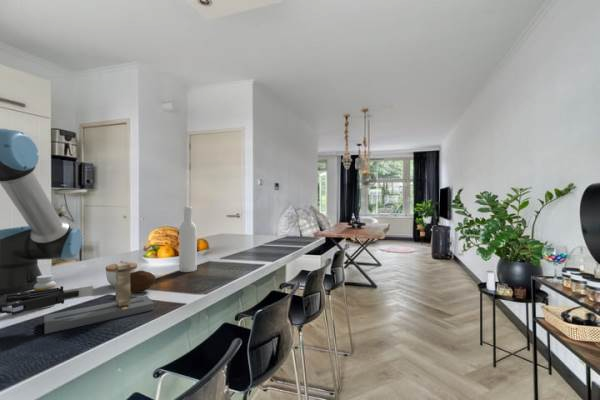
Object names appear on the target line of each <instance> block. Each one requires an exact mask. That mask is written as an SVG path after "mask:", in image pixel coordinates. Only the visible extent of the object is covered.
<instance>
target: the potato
mask: <svg viewBox="0 0 600 400" xmlns="http://www.w3.org/2000/svg"><path fill="white" fill-rule="evenodd" d="M156 279H157V278H156V276H155V275H154V274H153V273H151V272H149V271H147V270H137V271H136V272H132V273H130V293H141V292H144V291H147V290H149V289H150V288H151V287H152V286H154V284H155V283H156V281H157V280H156Z"/></svg>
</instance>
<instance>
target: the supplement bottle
mask: <svg viewBox="0 0 600 400" xmlns="http://www.w3.org/2000/svg"><path fill="white" fill-rule="evenodd" d="M37 282H38V283H36V284H35V285H34V289H33V291H35V290H44V289H53V288H57V283H56V281H54V275H53V274H42V276H38V277H37ZM54 306H55V305H51V306H47V307H43V308H38V310H39V309H40V310H43V309H47V308H48V309H49V308H51V307H54Z"/></svg>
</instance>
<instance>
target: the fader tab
mask: <svg viewBox="0 0 600 400" xmlns="http://www.w3.org/2000/svg"><path fill="white" fill-rule="evenodd" d="M129 263H130V262H128V261H123V262H121V263H120V262H116V263H115V264H116V267H115V270H116V287H115V302H116V303H117V305H118V306H119V307H120V306H124V305H129V304H130V299H131V291H130V271H131V268H130V264H129Z"/></svg>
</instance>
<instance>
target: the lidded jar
mask: <svg viewBox="0 0 600 400" xmlns="http://www.w3.org/2000/svg"><path fill="white" fill-rule="evenodd" d="M121 262H124V260H121V261H119V263H121ZM128 263H129V264H130V268H131V271H130V273H132V272H136V271H138V263H135V262H128ZM115 267H116V263H113V264H110V265H109V264H108V265H107V266H105V278H106V280H107V282H108V284H110V285H111V286H112V287H113V288H116V270H115Z"/></svg>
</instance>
